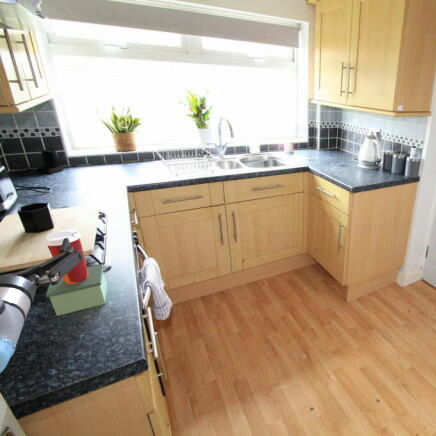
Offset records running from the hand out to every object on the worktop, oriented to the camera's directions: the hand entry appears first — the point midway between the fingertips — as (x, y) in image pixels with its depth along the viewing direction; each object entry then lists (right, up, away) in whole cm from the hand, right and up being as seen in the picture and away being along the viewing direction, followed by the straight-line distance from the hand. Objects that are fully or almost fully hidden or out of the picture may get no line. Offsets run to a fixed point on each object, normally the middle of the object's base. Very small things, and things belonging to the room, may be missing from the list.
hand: (30, 249), depth 72 cm
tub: (-5, -17, +22) cm, 28 cm away
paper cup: (-5, -10, +19) cm, 22 cm away
